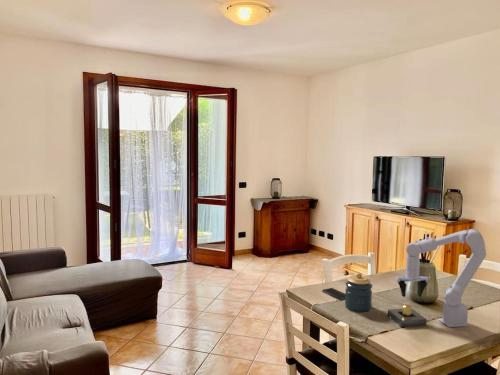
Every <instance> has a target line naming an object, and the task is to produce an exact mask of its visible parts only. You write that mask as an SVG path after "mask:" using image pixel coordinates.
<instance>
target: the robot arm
mask: <svg viewBox="0 0 500 375" xmlns="http://www.w3.org/2000/svg"><path fill="white" fill-rule="evenodd" d="M452 243H459V244H460V243H461V244H463V245H464V244H465V243H466V244H467V245H468V247H469V248H470V250H471V252H472V253H471V255H470V256H469V258H468V260H467V261H466V263H465V265H464V266H463V268H462V269H461V271H460V273H459V274H458V276H457V277H456V279H455V281H454V282H452V284H451V285H450V286H449V287H447V288H446V289H445V292H444V293H445V296H444V300H443V307H442V318H441V317H440V318H438V319H437V320H439V322H440V323H441V322H442V323H443V324H444V325H446V326H447V327H449V328H455V327H456V328H457V327H458V328H460V327H469V324H468V313H469V311H468V307H467V306H466V305H465V303H462V296H463V295H464V293H465V290H466V288H467V287H468V285H469V284H470V282H471V280H472V279H473V277H474V276H475V274H476V273H477V271H478V270H479V268H480V266H481V265H482V263H483V262H484V260H485V258H486V256H487V252H486V251H487V250H486V245H485V240H484V238H483V236H482V234H481V232H480V231H479V230H478V229H476V228H470V229H464V230H461V231H456V232H453V233H450V234H447V235H444V236H442V237H438V238H434V237H429V236H427V237H425V239H422V240H415V241H412V242H409V243H408V244H407V246H406V248H405V249H406V260H405V261H406V264H405V275H402V276H396V277H395V281H396V282H397V284H398V285H399V288H400V293H401V296H402V297H403V298H405V297H406V290H407V283H406V282H416V284H417V296H418V297H419V298H421V297H422V294H423V292H424V290H425V288H426V287H427V285H428V283H429V277H428V276H423V275H422V276H421V275H420V262H421V261H420V254H424V253H429V252H431V251H432V252H433V251H436V250H438V247H439V246H444V245H448V244H452Z"/></svg>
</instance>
